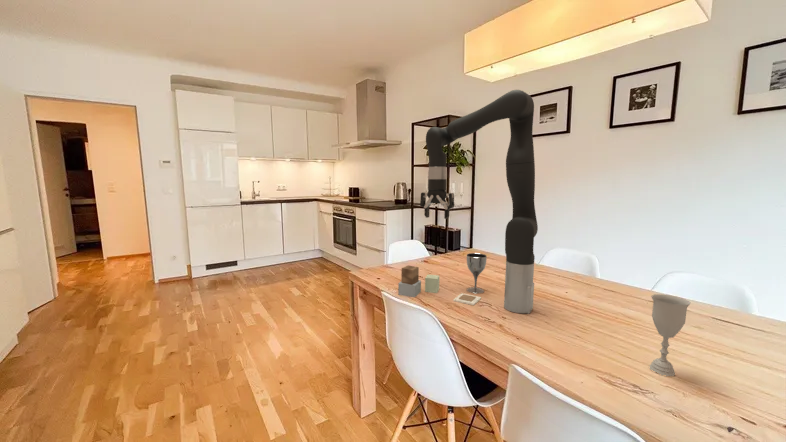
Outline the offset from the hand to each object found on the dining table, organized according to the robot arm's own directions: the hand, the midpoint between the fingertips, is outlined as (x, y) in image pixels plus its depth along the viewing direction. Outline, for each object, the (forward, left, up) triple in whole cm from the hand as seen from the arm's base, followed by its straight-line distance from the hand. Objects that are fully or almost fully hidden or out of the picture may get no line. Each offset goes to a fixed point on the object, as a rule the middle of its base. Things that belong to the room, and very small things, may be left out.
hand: (436, 218), depth 133 cm
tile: (-16, +5, -30) cm, 34 cm away
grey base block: (+6, +11, -30) cm, 33 cm away
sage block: (0, +3, -30) cm, 30 cm away
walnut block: (+6, +11, -25) cm, 28 cm away
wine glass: (-15, -7, -30) cm, 35 cm away
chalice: (-72, +23, -30) cm, 81 cm away
